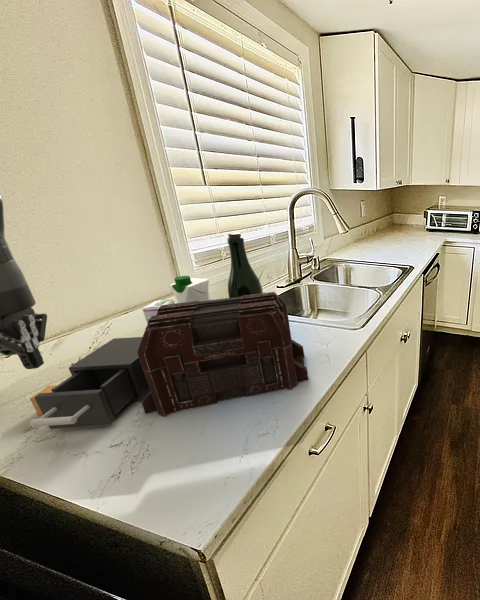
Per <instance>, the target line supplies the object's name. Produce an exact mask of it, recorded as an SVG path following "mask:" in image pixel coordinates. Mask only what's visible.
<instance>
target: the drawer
mask: <svg viewBox="0 0 480 600" xmlns="http://www.w3.org/2000/svg"><path fill="white" fill-rule="evenodd" d="M52 392H53V393H40V394H38V395H37V396H35V397H34V398H35V400H36V402H37V404H38V406H39V408H40V410H41V412H42V414H43V415H41V416H40V417H38V418H33V419H31V420H30V422H29V426H30V427H32V428H34V427H35V428H36V427H37V428H38V427H48V428H49V429H50V430H54V429H55V430H56V429H67V428H69V429H71V428H82V427H83V428H85V427H98V426H110V425H112V424H113V423H114V422H115V421H116V419H115V417H114V416H116V415H117V414H118V413H119V412H120V411H121V410H122V409H123V408H124V407H125V406H126V405H127V404H129V403H130V402H131V401H130V400H131V399H132V398H134V397H135V396H136V395H137V392H136V390H135V387H134V384H133V382H132V379H131V376H130V373H129V371H128V368H114V369H97V370H80V371H78V372H77V373H75V374H74V375H70V376H69V377H67V378H66V379H65V380H63V381H62V382H60V383H59V384H57V386H56V387H54V388H53V389H52Z"/></svg>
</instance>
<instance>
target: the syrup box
mask: <svg viewBox="0 0 480 600" xmlns="http://www.w3.org/2000/svg"><path fill="white" fill-rule="evenodd" d="M168 304H176V302H175V300H173V299H161V300H154V301H153V302H151V303H150V304H147V305H146V306H144V307H142V312H143V316H144V318H145V321H146V324H148V320H149V319H150V318H151V317H152V316H156V315H157V312H158V309H159V307H160V306H161V305H168Z"/></svg>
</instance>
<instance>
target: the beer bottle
mask: <svg viewBox="0 0 480 600" xmlns="http://www.w3.org/2000/svg"><path fill="white" fill-rule="evenodd" d="M227 235H228V237H227V244H228V250H229V255H230V256H229V257H230V270H229V275H228V281H227V298H233V297H241V296H243V295H251V294H260V293H264V289H263V286H262V283H261V281H260V279H259V277H258V275H257V274H256V273H255V270H254V269H253V268H252V266H251V264H250V261H249V259H248V255H247V251H246V246H245V239H244V237H243V236H242V234H241V232H230V233H228V234H227Z"/></svg>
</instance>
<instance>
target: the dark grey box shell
mask: <svg viewBox="0 0 480 600" xmlns="http://www.w3.org/2000/svg"><path fill="white" fill-rule="evenodd" d="M142 337H143V336H133V337H116V338H115V337H114V338H112V339H110V340H109V341H107V342H106V343H104V344H103V345H101V346H100V347H98V348H97V349H95V350H94V351H92V352H90V353H89V354H88V355H86V356H84V357H83V358H81V359H80V360H78V361H77V362H75V363H73V364H72V365H70V366H69V367H68V370H69V373H70V376H72V375H74V374H75V373H77V372H78V371H80V370H97V369H114V368H128V371H129V373H130V376H131V379H132V382H133V384H134V387H135V390H136V392H137V395H136V396H135V397H134V398H132V399H131V400H130V401H129V402H136V401H137V402H138V401H143V399H144V398H145V397H146V396H147V395H148V393H149V392H150V388H149V385H148V383H147V380H146V377H145V374H144V371H143V369H142V366H141V362H140V359H139V356H138V353H137V351H138V349H139V346H140V343H141V340H142Z"/></svg>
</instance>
